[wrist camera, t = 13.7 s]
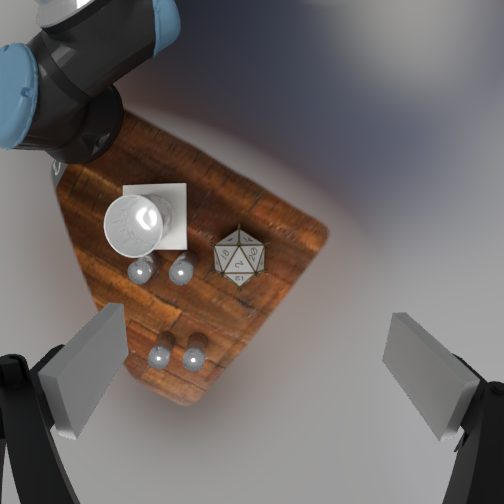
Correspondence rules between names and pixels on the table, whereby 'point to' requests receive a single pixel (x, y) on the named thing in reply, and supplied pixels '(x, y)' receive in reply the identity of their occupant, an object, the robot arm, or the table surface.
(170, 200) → the coaster
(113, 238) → the white cup
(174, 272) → the spacer posts
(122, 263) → the table surface
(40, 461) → the robot arm
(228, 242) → the game die
